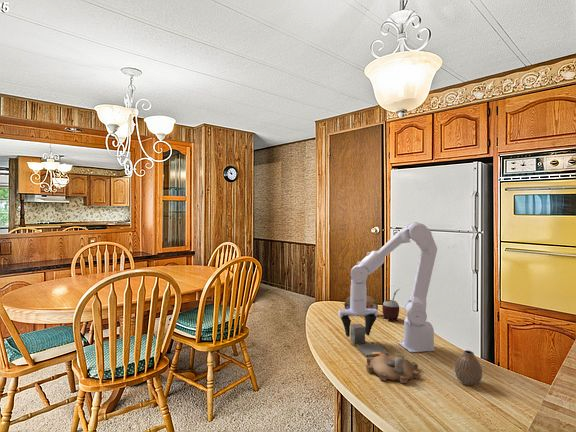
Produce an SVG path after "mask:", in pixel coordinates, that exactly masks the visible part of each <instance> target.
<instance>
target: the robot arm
mask: <svg viewBox="0 0 576 432" xmlns="http://www.w3.org/2000/svg"><path fill="white" fill-rule="evenodd" d="M411 240H412V241H413V242H414V243H416V245H417V246H418V248H419V249H420V251H421V252H420V255H419V259H418V260H419V261H418V264H417V269H416V271H415V272H416V273H415V277H414V283H413V285H412V290H411V294H410V295H409V299H408V301H407V302H406V303H405V305H404V312H405V314H406V317H405V318H404V322H403V324H404V325H403V341H399V342H398V344H399V345H400V346H401V347H403V348H404V349H405V350H407V351H408V352H409V353H422V352H423V353H424V352H434V351H435V350H436V349H435V348H434V340H435V331H434V327H433V325H432V323H431V322H429V321H427V318H428V315H427V312H426V311H427V296H428V292H429V287H430V282H431V279H432V275H433V269H434V265H435V262H436V257H437V252H438V246H437V244H436V242H435V240H434V237H433V234H432V231H431V230H430V228H428V227H427V226H426V225H425V224H423V223H420V222H417V221H413V222H410V223H408V225H407V226H404V227H403V228H401V229H400V230H399V231H398V232H396V233H395V234H394V235H393V236H392V237H391V238H390V239H389V240H388V241H387V242H386V243H385V244H384V245H383V246H382V247H380V248H379V250H372V251H371V252H370V251H368V252H367V253H366V256H365V257H363V258H362V260H360V261H358V262H356V265H354V266H353V267H352V268H351V269H350V278H351V280H350V283H351V284H350V295H349V296H350V309H345V308H344V309H340V310H339V309H338V311H337V316H338V317H339V318H340V319H341V322H342V325H343V327H344V331H345V336H346V337H347V338H350V334H351V324H352V322H351V321H352V320H351V319H350V317H359V316H364V323H365V324H364V327H365V336H370V335H371V330H372V327H373V326H374V324H375V322H376V320H377V316H379V315H378V312H379V311H378V310H379V309H377V310H376V309H368V308H366V296H367V287H368V286H367V279H368V275H371V274H373V273H374V272H375V271H376V270H378V268H380V267H381V266H382V265H383V264H384V262H385V258H386V257H387V256H388V255H389V254H391V253H392V252H393V251H394V250H396V249H397V248H398V247H399V246H401V245H402V244H408V243H411Z"/></svg>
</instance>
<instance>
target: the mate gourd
mask: <svg viewBox="0 0 576 432" xmlns="http://www.w3.org/2000/svg"><path fill="white" fill-rule="evenodd" d="M398 291H400V288H398V289H396V290H395V291H394V293H393V296H392V299H385V300H384V301H383V303H382V316H383V319H384V320H387V322H389V323H390V322H391V321H395V322H398V321H399V319H398V318H399V314H400V305H399V303H398V301H396V300H395V297H396V295H397V292H398Z"/></svg>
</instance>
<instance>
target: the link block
mask: <svg viewBox="0 0 576 432" xmlns="http://www.w3.org/2000/svg"><path fill="white" fill-rule="evenodd" d="M349 338H350V342H351V343H353V345H364V344H366V334H365V325H363V324H362V323H350V336H349Z"/></svg>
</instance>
